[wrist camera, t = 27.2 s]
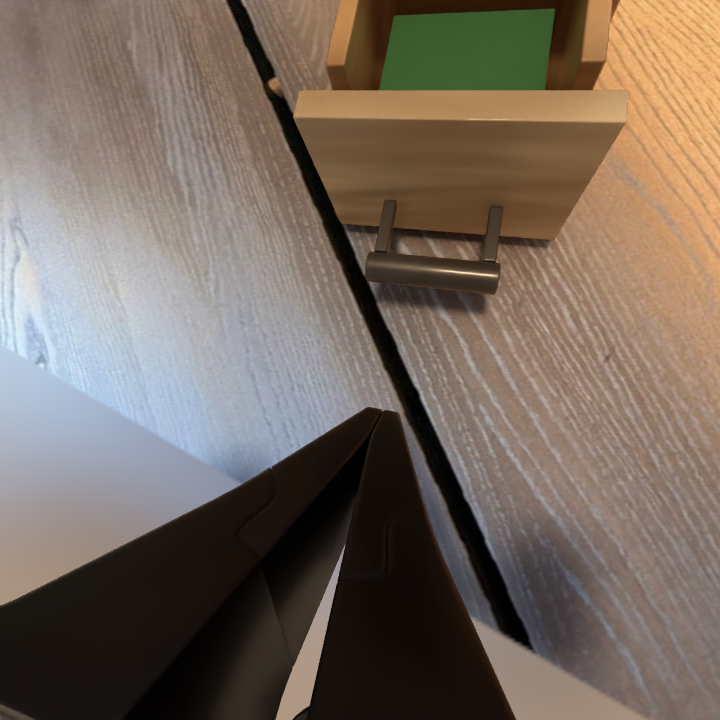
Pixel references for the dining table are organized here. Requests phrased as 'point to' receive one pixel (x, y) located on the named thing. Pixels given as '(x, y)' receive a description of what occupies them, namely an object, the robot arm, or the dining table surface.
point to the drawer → (459, 140)
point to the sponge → (469, 51)
